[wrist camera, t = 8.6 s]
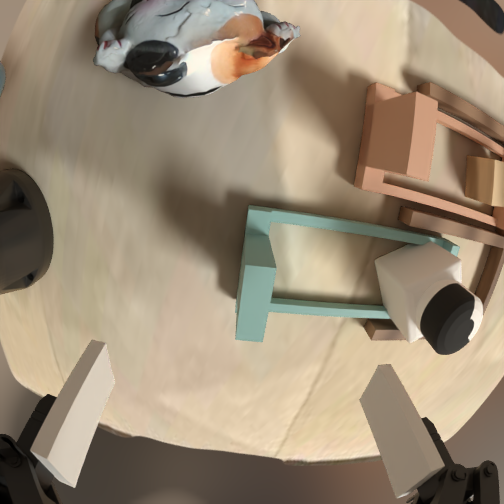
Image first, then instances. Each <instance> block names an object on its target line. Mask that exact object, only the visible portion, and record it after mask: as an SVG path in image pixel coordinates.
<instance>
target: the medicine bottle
mask: <svg viewBox="0 0 504 504" xmlns="http://www.w3.org/2000/svg"><path fill="white" fill-rule="evenodd" d="M375 266H376V271H377V276H378V281H379V286H380V291H381V296H382V302H383V306H384V307H385V308H386V310H387V311H388V315H389V317H390V318H391V320H392V321H393V322H394V324H395V325H396V326H397V328H398V329H399V330H400V332H401V333H402V334H403V336H404V337H405V339H406V340H407V341H408V342H409V343H411V342H414V341H415V340H417V339H419V338H421V337H423V336H424V337H425V339H426V340H427V341H428V342H429V344H430V345H431V346H432V348H433V349H434V350H435V351H436V352H437V353H438V354H441V355H449V354H452V353H455V352H457V351H459V350H460V349H462V348H463V347H464V346H465V345H466V344H467V343H468V342H469V341H470V340H471V339H472V338H473V336H474V335H475V333H476V332H477V330H478V328H479V326H480V324H481V321H482V317H483V305H482V302H481V300H480V299H479V298H478V297H477V296H476V295H474V294H473V293H472V292H471V291H470V290H468V289H467V288H466V287H465V286H463V285H462V275H461V260H460V259H459V258H458V257H456V256H455V255H453V254H451V253H450V252H448V251H447V250H445V249H444V248H442V247H440V246H439V245H437V244H435V243H434V242H432V241H430V242H428V243H426V244H424V245H420V244H414V243H410V244H408V245H406V246H404V247H401V248H399V249H397V250H395V251H393V252H390V253H388V254H386V255H384V256H381V257H379V258H377V259H375Z"/></svg>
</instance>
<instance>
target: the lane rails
mask: <svg viewBox="0 0 504 504" xmlns="http://www.w3.org/2000/svg"><path fill="white" fill-rule="evenodd" d="M417 92H418V93H421V94H423V95H425V96H427V97H429V98H432V99H434V100H436V101H438V108H440V109H442V110H444V111H446V112H448V113H450V114H452V115H454V116H456V117H458V118H460V119H461V120H463V121H465V122H467V123H469V124H470V125H472V126H474V127H476V128H477V129H479V130H481V131H482V132H484V133H486V134H487V135H489V136H490V137H492V138H493V139H495V140H496V141H498V142H500V143H501V144H502V145H504V126H503V125H501V124H500V123H498V122H497V121H496V120H494V119H493V118H491V117H490V116H488V115H487V114H485V113H484V112H482V111H481V110H479V109H478V108H476V107H475V106H473V105H471V104H470V103H468V102H466V101H465V100H463V99H461V98H460V97H458V96H456V95H454V94H453V93H451V92H449V91H447V90H445V89H443V88H441V87H439V86H438V85H436V84H434V83H432V82H428V83H425V84H421V85H418V86H417ZM398 220H400V221H402V222H403V223H405V224H407V225H409V226H412V227H417V228H422V229H426V230H431V231H435V232H440V233H444V234H448V235H452V236H457V237H461V238H465V239H469V240H473V241H477V242H481V243H484V244H488V245H492V246H491V249H490V253H489V256H488V259H487V262H486V265H485V268H484V271H483V274H482V277H481V279H480V282H479V285H478V287H477V290H476V292H475V295H476V296H477V297H478V298H479V299H480V300H481V302H482V305H483V315H484V312H485V310H486V308H487V306H488V303H489V301H490V298H491V296H492V294H493V291H494V289H495V286H496V283H497V281H498V278H499V275H500V272H501V269H502V266H503V263H504V230H502V229H500V228H498V227H497V228H496V232H493V231H490V230H487V229H484V228H480V227H477V226H474V225H471V224H467V223H464V222H461V221H457V220H454V219H450V218H447V217H443V216H439V215H436V214H432V213H428V212H424V211H420V210H416V209H412V208H408V207H404V206H401V208H400V213H399V217H398ZM364 329H365V330H366V332H367V334H368V336H369V337H370V339H371V340H406V339H405V337H404V336H403V334H402V333H401V332H400V330H399V329H398V328H397V326H396V325H395V324H394V322H393V321H392V320H391V319H381V318H368V320H367V322H366V325H365V327H364ZM419 339H425V337H424V336H423V337H421V338H419Z"/></svg>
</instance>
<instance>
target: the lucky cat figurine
mask: <svg viewBox="0 0 504 504" xmlns="http://www.w3.org/2000/svg"><path fill="white" fill-rule="evenodd" d="M299 31H300V27H299V26H297V27H295V26H294V25H292V24H290V23H287V22H280V21H279V20H278V19H277V18H276V17H275V16H274V15H271V14H270V13H267V12H263V11H260V10H259V8H258V6H257V4H256V2H255V1H254V0H112V1H111V2H110V3H109V4H107V5H105V6H104V7H103V9H102V10H101V12H100V13H99V15H98V17H97V20H96V25H95V38H96V41H97V44H98V47H97V51H96V55H95V57H94V58H93V62H94V65H96V66H98V65H100V66H102V67H103V68H105V69H106V70H107V71H109V72H113V73H118V72H121V73H122V74H124V75H125V76H127V77H129V78H131V79H133V80H136V81H138V82H139V83H140V84H142V85H143V86H144V87H154V88H156V89H157V90H159V91H161V92H165V93H167V94H169V95H171V96H173V97H178V98H187V97H200V96H204V95H208V94H212V93H214V92H215V91H217V90H219V89H220V88H222V87H223V86H225V85H228V84H230V83H232V82H233V81H235V80H237V79H238V78H239V77H240V76H242V75H245V74H249V73H252V72H255V71H258V70H260V69H262V68H264V67H265V66H266V65H267V64H268V63H269V62H270V61H271V60H272V59H273V58H274V57H275V56H276V55H277V54H279V53H282V52H283V51H284V50H285V49H286V48H287V47H288V45H289V44H290V42H291V41H293V40H294V39H295V38H297V37H299V36H301V35H300V33H299Z"/></svg>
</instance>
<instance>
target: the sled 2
mask: <svg viewBox="0 0 504 504" xmlns="http://www.w3.org/2000/svg"><path fill="white" fill-rule="evenodd" d="M436 123H439V124H442V125H444V126H446V127H448V128H450V129H452V130H454V131H456V132H458V133H460V134H462V135H464V136H466V137H468V138H469V139H471V140H473V141H475V142H477V143H479V144H480V145H482V146H484V147H485V148H487V149H489V150H491V151H492V152H494V153H496V154H497V155H499V156H500V157H502V162H504V148H503V147H501V146H500V145H498V144H497V143H495V142H494V141H492V140H491V139H489V138H487V137H486V136H484V135H483V134H481V133H479V132H478V131H476V130H474V129H472V128H471V127H469V126H467V125H465V124H463V123H462V122H460V121H458V120H456V119H454V118H452V117H450V116H448V115H446V114H444V113H442V112H440V111H438V101H436V100H434V99H432V98H429V97H427V96H425V95H423V94H421V93H418V92H413V93H409V94H405V95H401V94H399V93H396V92H395V89H393V88H390V87H387V86H385V85H382V84H379V83H374V84H372V85H370V86H368V89H367V99H366V108H365V116H364V124H363V132H362V139H361V146H360V152H359V159H358V165H357V171H356V176H355V182H354V187H357V188H359V189H362V190H367V191H371V192H376V193H380V194H381V193H383V194H387V195H391V196H395V197H399V198H403V199H407V200H411V201H415V202H419V203H422V204H426V205H430V206H433V207H437V208H440V209H443V210H447V211H450V212H454V213H457V214H460V215H463V216H466V217H469V218H473V219H476V220H479V221H482V222H485V223H487V224H490V225H493V226H496V227H498V228H500V229H502V230H504V207H499V206H494V210H493V215H492V216H489V215H486V214H484V213H481V212H478V211H475V210H473V209H470V208H467V207H464V206H461V205H458V204H455V203H452V202H449V201H446V200H443V199H440V198H436V197H433V196H430V195H426V194H423V193H420V192H416V191H413V190H409V189H405V188H402V187H398V186H394V185H390V184H386V183H383V178H384V173H385V172H390V173H395V174H399V175H403V176H408V177H412V178H416V179H420V180H424V181H429V175H430V169H431V163H432V156H433V149H434V141H435V133H436Z"/></svg>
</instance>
